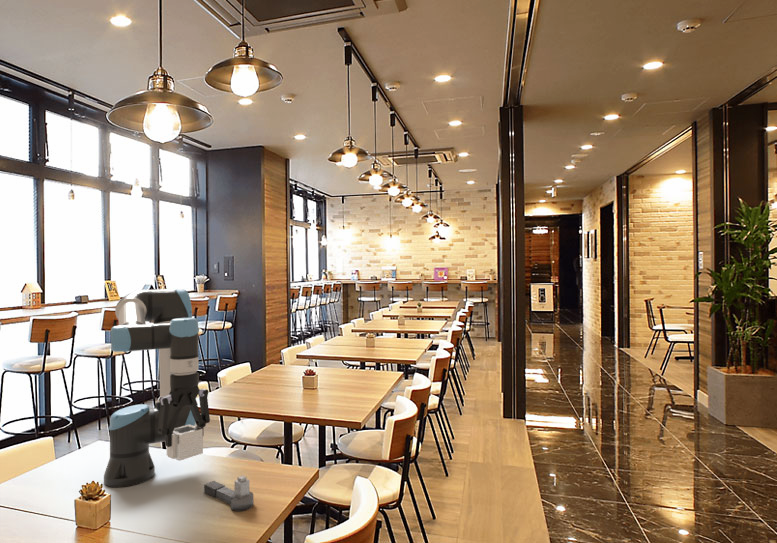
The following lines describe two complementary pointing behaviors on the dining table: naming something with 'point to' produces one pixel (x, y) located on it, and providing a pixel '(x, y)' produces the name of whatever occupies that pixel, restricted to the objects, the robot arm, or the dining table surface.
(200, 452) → the socket
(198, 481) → the dining table surface
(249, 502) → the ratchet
